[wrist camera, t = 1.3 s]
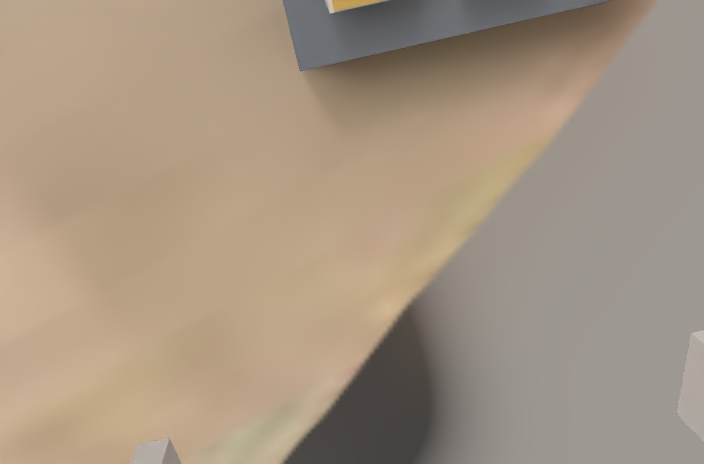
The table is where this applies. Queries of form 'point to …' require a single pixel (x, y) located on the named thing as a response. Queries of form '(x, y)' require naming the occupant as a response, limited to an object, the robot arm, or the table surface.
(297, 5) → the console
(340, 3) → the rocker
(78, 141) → the table surface
